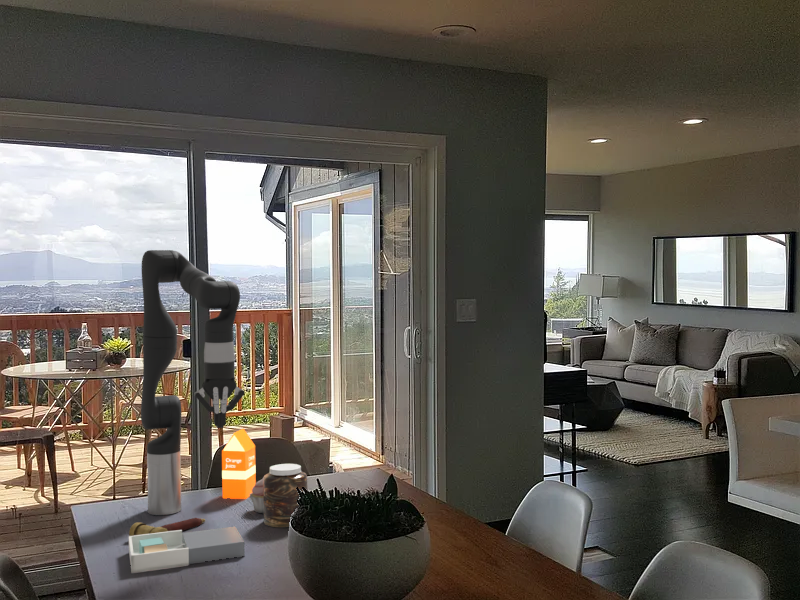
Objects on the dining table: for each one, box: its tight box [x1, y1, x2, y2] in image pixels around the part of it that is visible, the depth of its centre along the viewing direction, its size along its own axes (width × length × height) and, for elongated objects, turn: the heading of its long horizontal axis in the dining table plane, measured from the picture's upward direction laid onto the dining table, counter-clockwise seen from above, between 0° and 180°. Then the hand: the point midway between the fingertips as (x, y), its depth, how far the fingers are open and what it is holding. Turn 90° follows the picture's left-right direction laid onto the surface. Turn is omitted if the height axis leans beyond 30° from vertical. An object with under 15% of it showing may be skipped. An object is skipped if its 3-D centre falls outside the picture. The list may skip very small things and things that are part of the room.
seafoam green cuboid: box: [139, 537, 164, 554], centre depth 183 cm, size 5×5×3 cm
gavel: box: [128, 517, 206, 537], centre depth 201 cm, size 21×5×10 cm
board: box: [182, 526, 246, 565], centre depth 186 cm, size 13×13×4 cm
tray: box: [128, 530, 190, 574], centre depth 182 cm, size 15×12×4 cm
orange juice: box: [221, 428, 257, 500], centre depth 238 cm, size 8×9×20 cm
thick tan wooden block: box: [144, 544, 168, 553], centre depth 178 cm, size 5×5×3 cm
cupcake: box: [249, 476, 264, 514], centre depth 221 cm, size 9×9×10 cm
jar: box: [263, 463, 309, 528], centre depth 210 cm, size 12×12×15 cm
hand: (219, 427), depth 195 cm, fingers closed
